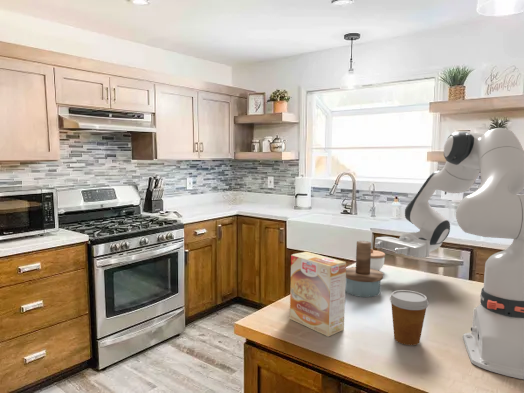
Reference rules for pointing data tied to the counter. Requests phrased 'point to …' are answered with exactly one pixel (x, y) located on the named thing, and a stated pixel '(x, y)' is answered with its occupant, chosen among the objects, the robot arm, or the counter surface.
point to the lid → (363, 265)
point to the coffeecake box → (318, 292)
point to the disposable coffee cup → (408, 315)
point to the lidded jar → (377, 259)
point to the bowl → (362, 288)
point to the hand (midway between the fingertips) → (386, 248)
